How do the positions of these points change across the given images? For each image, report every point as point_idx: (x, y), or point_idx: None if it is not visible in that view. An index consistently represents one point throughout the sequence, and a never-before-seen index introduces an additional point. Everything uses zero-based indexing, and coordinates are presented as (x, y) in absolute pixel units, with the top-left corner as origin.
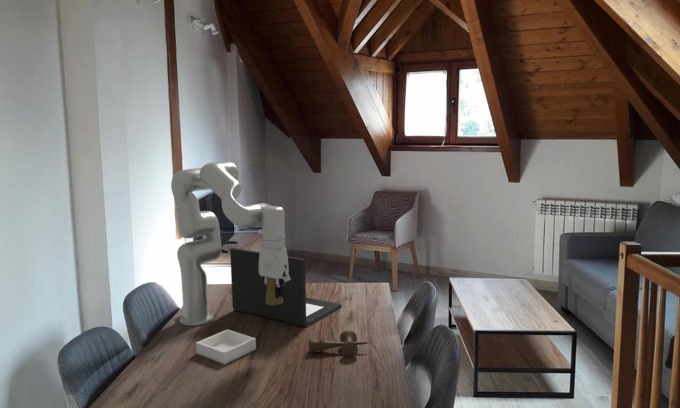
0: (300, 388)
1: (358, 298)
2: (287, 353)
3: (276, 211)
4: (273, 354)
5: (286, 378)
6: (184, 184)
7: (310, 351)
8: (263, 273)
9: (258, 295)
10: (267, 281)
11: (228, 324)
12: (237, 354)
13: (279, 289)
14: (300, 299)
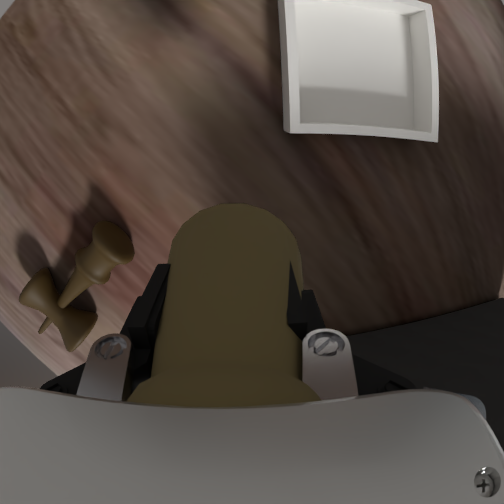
0: (6, 72)
1: None
2: (168, 177)
3: None
4: (200, 140)
5: (55, 69)
6: None
7: (101, 221)
8: (355, 442)
9: (463, 354)
10: (303, 365)
11: (476, 227)
12: (281, 39)
13: (125, 330)
14: None
